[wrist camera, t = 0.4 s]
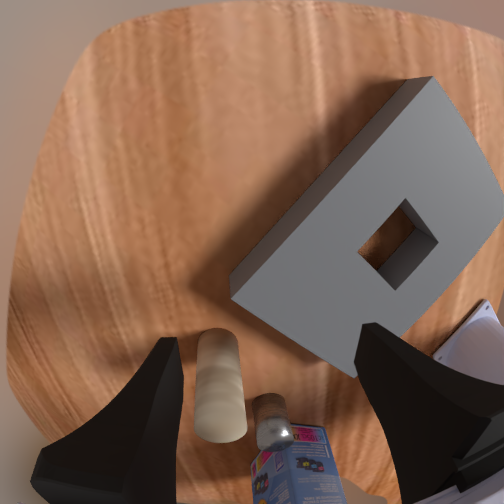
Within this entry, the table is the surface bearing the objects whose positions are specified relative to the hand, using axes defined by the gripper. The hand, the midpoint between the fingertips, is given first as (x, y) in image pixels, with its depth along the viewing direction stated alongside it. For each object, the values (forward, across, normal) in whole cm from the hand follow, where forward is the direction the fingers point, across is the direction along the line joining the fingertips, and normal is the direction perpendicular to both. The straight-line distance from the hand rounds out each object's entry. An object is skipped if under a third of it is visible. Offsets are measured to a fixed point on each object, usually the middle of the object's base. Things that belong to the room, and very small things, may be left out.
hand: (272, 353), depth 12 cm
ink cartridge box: (+10, -4, +23) cm, 25 cm away
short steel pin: (+10, -2, +15) cm, 18 cm away
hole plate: (+10, -9, -1) cm, 13 cm away
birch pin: (+10, +2, +7) cm, 12 cm away
